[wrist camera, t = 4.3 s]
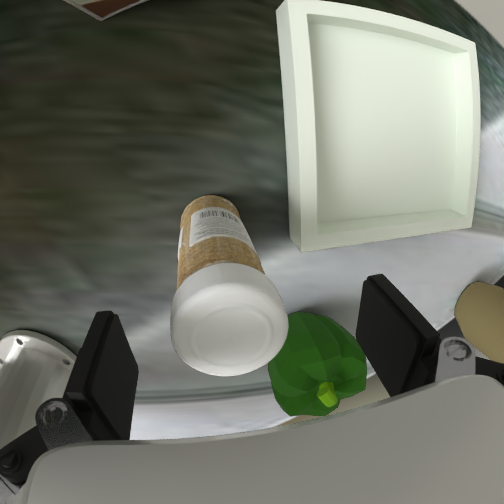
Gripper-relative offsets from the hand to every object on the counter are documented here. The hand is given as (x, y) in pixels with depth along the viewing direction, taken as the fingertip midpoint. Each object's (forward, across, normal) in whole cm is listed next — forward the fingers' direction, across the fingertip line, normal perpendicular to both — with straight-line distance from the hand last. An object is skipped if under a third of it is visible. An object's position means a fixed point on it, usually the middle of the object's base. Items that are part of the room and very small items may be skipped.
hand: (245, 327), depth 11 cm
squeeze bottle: (+14, -30, +15) cm, 36 cm away
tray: (+14, -14, -6) cm, 21 cm away
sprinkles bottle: (+14, +1, +1) cm, 14 cm away
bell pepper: (+14, -6, +13) cm, 19 cm away
